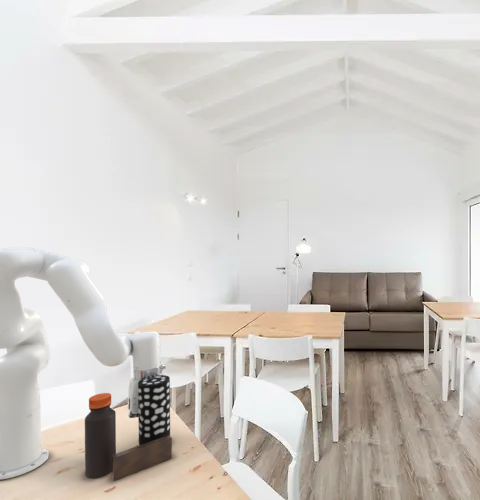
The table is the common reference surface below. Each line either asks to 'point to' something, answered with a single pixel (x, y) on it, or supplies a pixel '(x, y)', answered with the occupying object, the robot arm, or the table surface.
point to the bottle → (99, 436)
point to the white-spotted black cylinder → (154, 408)
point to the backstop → (141, 457)
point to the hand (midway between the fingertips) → (149, 430)
